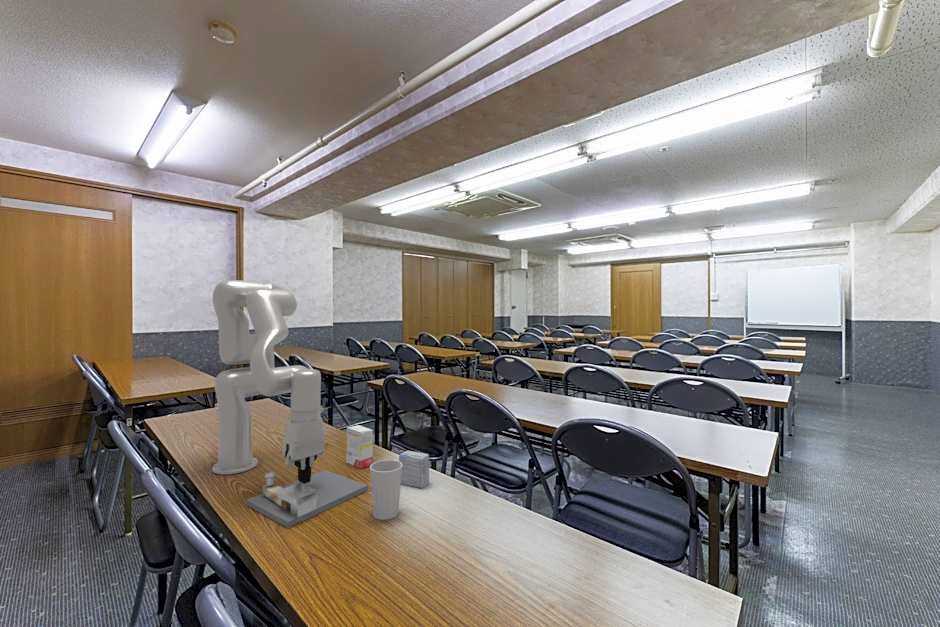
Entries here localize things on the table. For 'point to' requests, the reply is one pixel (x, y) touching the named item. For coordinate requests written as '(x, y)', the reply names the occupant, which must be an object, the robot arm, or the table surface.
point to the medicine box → (414, 468)
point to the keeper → (299, 498)
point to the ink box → (359, 446)
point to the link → (275, 495)
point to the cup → (386, 488)
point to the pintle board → (329, 495)
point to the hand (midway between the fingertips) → (304, 481)
